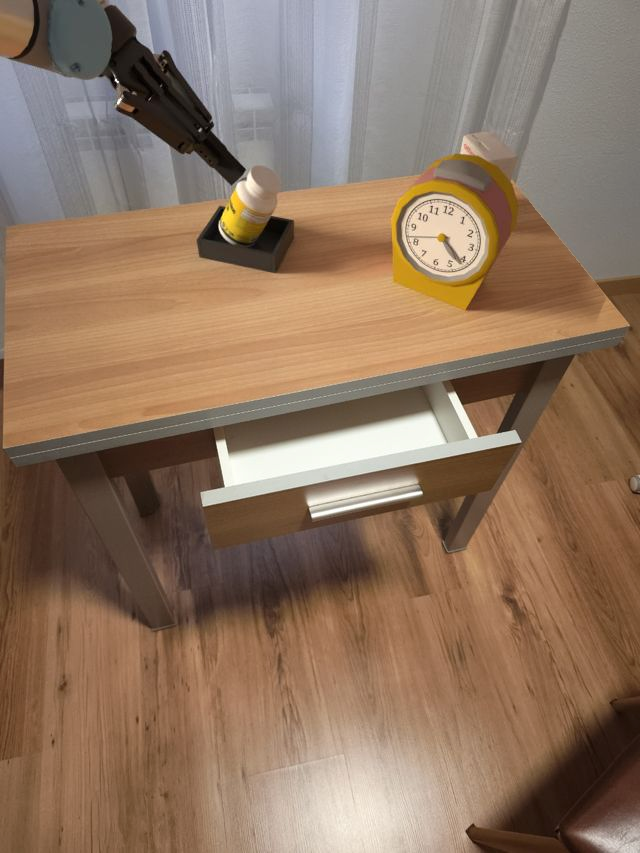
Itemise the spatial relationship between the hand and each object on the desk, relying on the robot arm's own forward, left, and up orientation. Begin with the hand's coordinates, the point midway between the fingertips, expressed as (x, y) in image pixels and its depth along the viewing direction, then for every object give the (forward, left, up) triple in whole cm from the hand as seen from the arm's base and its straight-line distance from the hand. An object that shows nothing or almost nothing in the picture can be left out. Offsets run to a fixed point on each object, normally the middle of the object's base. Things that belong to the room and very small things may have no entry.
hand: (238, 177), depth 79 cm
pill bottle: (-1, 0, -9) cm, 9 cm away
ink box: (+38, 0, -11) cm, 40 cm away
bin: (0, -1, -11) cm, 11 cm away
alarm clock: (+26, -15, -11) cm, 32 cm away
